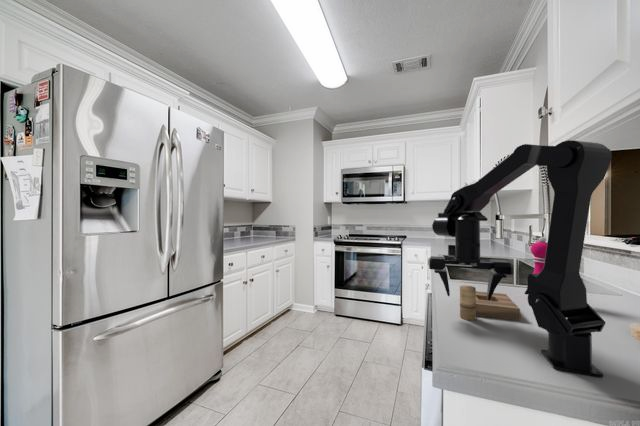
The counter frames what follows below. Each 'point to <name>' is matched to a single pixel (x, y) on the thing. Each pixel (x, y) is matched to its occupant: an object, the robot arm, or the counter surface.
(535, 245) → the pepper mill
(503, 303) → the board
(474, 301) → the peg
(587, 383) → the counter surface
